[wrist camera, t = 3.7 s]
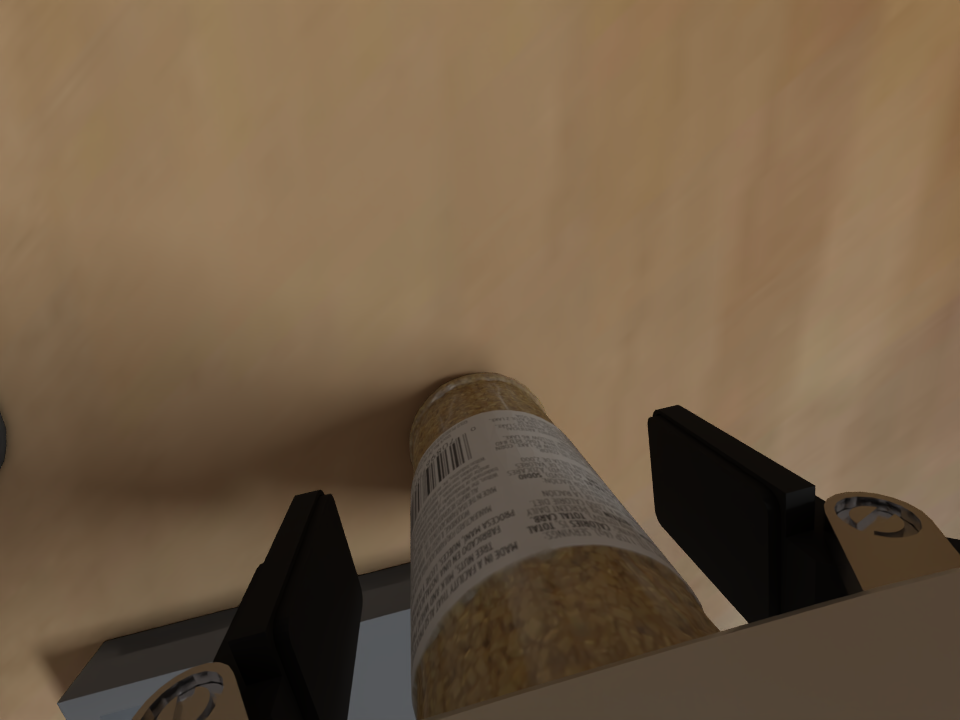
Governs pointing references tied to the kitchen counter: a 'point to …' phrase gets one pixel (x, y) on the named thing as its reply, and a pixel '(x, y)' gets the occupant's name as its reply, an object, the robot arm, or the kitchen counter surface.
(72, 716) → the slate tray
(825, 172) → the kitchen counter surface
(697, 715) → the robot arm
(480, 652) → the sprinkles bottle
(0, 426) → the sundae
